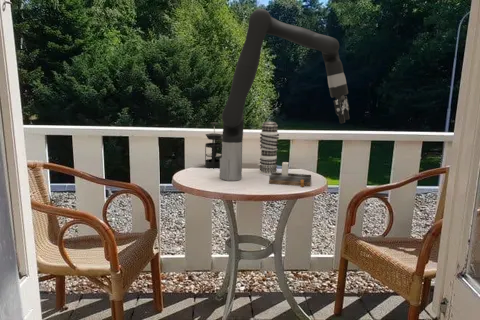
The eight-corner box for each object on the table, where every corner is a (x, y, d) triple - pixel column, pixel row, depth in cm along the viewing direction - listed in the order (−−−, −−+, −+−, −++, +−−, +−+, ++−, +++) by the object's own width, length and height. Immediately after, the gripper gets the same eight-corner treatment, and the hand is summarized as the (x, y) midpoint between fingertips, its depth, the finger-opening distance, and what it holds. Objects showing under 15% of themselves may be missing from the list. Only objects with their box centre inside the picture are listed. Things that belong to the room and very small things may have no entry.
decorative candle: (276, 175, 202) (279, 123, 197) (257, 174, 203) (259, 122, 198) (278, 171, 210) (280, 121, 206) (259, 170, 212) (261, 120, 207)
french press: (202, 168, 213) (203, 123, 208) (204, 164, 222) (204, 121, 218) (225, 169, 213) (226, 123, 208) (226, 165, 222) (227, 122, 218)
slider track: (268, 184, 183) (268, 176, 182) (271, 179, 193) (271, 171, 193) (310, 187, 179) (310, 179, 179) (310, 181, 190) (311, 174, 189)
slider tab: (278, 179, 186) (279, 163, 184) (279, 176, 190) (280, 161, 189) (290, 179, 185) (290, 164, 184) (290, 177, 189) (291, 162, 188)
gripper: (333, 85, 189) (340, 120, 191) (324, 88, 176) (332, 125, 179) (349, 81, 185) (356, 117, 187) (342, 84, 173) (349, 122, 175)
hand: (344, 121), depth 183 cm, fingers open, 8 cm apart
